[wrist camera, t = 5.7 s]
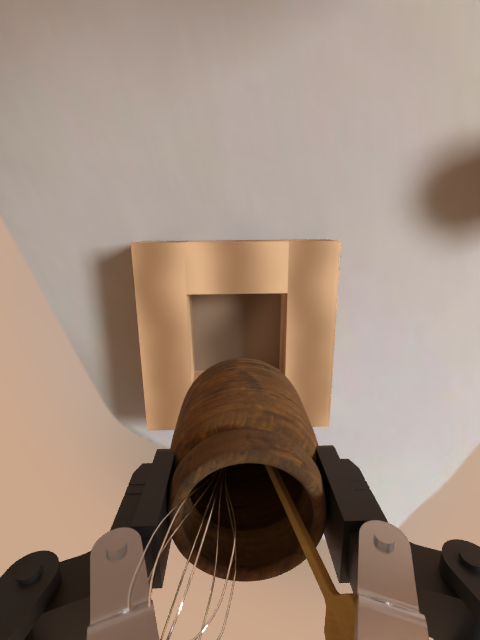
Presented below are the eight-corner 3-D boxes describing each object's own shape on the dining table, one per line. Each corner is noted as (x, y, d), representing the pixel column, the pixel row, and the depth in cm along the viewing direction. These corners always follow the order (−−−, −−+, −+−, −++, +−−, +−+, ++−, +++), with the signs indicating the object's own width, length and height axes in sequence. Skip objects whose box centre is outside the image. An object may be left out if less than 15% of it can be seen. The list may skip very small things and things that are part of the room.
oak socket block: (326, 239, 30) (341, 240, 26) (317, 404, 34) (328, 426, 30) (143, 241, 30) (130, 243, 26) (156, 407, 34) (147, 430, 30)
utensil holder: (205, 336, 16) (144, 596, 5) (324, 378, 17) (521, 695, 5) (166, 437, 18) (44, 833, 6) (277, 473, 18) (357, 887, 7)
